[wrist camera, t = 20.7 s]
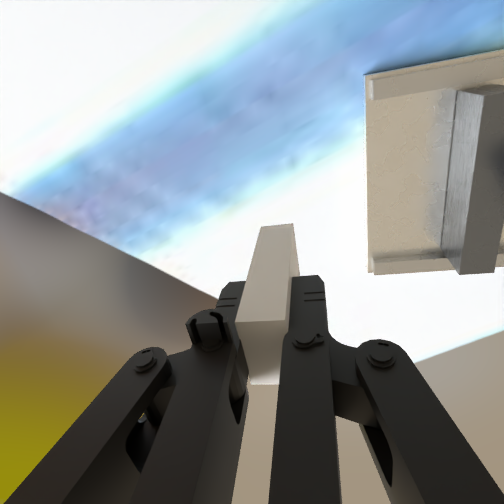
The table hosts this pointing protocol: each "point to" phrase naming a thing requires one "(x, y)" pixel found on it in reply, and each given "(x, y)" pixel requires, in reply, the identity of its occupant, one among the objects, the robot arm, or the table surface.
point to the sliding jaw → (476, 182)
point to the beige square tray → (415, 158)
